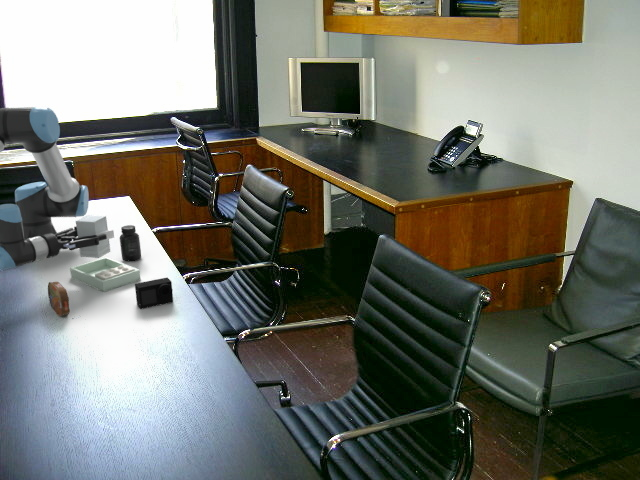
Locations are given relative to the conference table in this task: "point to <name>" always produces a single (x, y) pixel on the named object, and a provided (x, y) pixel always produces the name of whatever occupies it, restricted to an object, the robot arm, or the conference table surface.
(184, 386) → the conference table surface
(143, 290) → the digital camera
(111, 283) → the pale green tray
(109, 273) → the egg carton
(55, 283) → the tin
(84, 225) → the supplement box
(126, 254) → the supplement bottle
